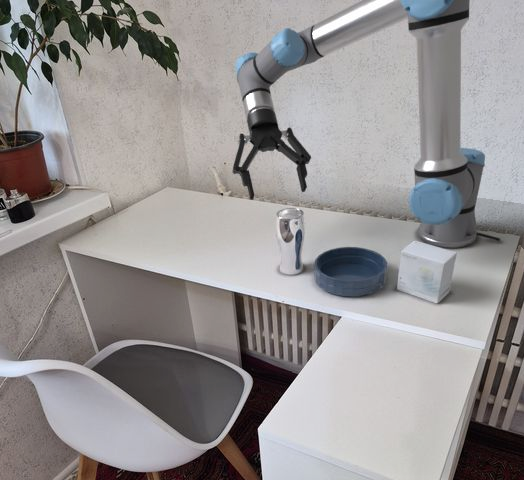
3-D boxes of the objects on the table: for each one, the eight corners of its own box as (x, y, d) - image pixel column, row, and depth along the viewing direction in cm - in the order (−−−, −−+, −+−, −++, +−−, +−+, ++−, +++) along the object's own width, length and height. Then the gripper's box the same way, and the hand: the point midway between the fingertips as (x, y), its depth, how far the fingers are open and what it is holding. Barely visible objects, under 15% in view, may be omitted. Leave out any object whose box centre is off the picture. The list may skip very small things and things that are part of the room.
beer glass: (302, 276, 127) (302, 219, 118) (275, 275, 128) (273, 218, 119) (306, 263, 132) (306, 207, 123) (280, 262, 134) (278, 207, 124)
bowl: (385, 264, 130) (387, 248, 127) (385, 300, 116) (387, 283, 114) (318, 261, 133) (318, 245, 130) (310, 296, 119) (310, 279, 117)
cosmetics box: (395, 290, 119) (400, 249, 113) (409, 279, 123) (414, 239, 117) (437, 304, 114) (444, 262, 107) (450, 292, 117) (458, 251, 111)
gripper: (304, 118, 136) (321, 192, 133) (212, 130, 132) (228, 206, 129) (310, 101, 128) (329, 179, 126) (213, 112, 124) (231, 193, 122)
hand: (278, 193), depth 128 cm, fingers open, 13 cm apart
